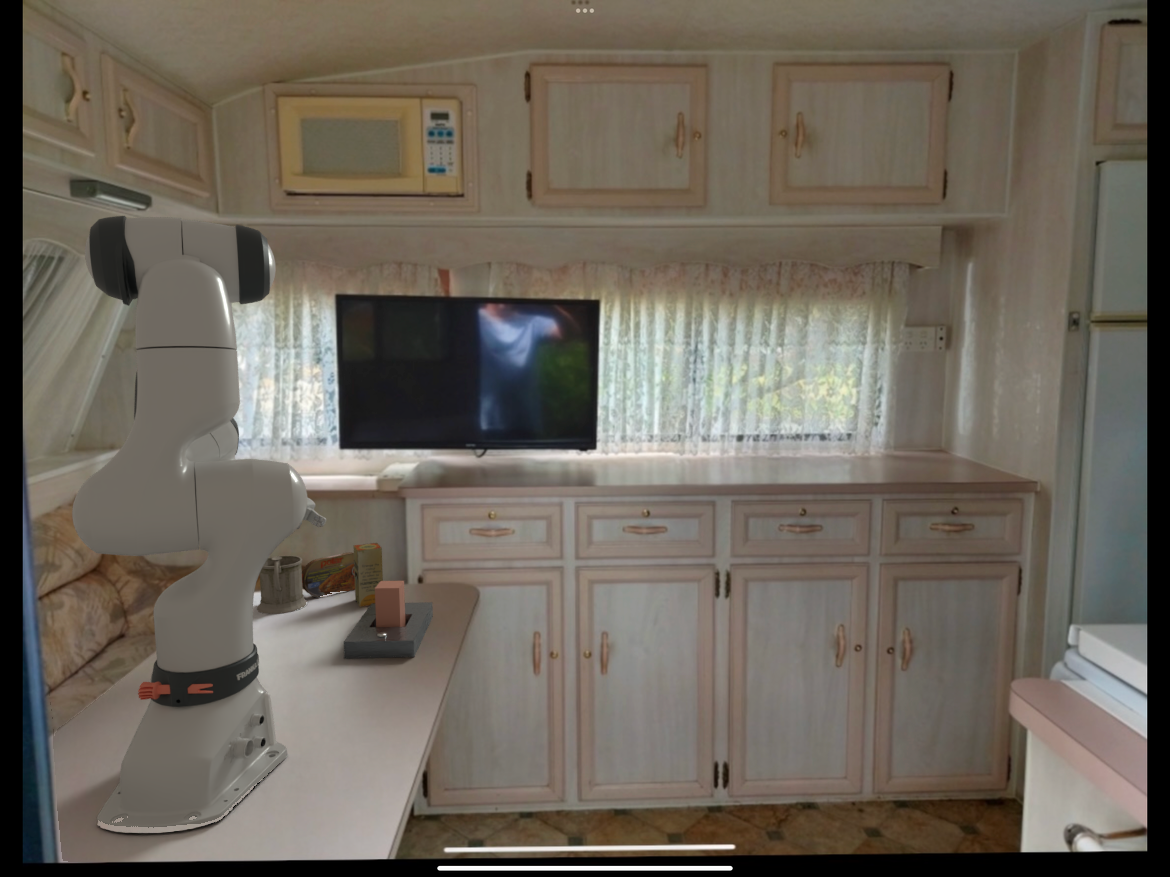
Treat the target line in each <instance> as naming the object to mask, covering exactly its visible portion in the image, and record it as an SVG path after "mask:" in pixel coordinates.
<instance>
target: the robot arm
mask: <svg viewBox="0 0 1170 877" xmlns="http://www.w3.org/2000/svg"><path fill="white" fill-rule="evenodd" d="M271 248H272V247H271V246H270V245H269V243H268V238H267V237H266V236H265V235H264V234H263V233H262V232H261V231H260V230H258V229H255V228H252V227H249V226H246V225H240V224H236V225H235V226H232V225H228V224H227V225H226V224H221V223H215V222H209V221H201V220H195V219H194V220H191V219H183V218H182V217H171V216H170V217H168V216H167V217H165V216H160V217H159V216H155V217H153V216H152V217H151V216H148V217H130V218H129V217H126V215H118V216H117V215H116V216H115V215H114V216H109V217H103V218H102V217H101V218H99V219H97V221H95V223H94V224H92V225H91V227H90V229H89V234H88V236H87V238H86V240H85V247H84V260H85V264H86V267H87V270H88V272H89V274H90V276H91V278H92V280H93V282H94V284H95V287H97V288H98V289H99V290H100V291H101V292H103V293H104V294H105V295H107V296H108V297H110V298H112V299H113V298H114V299H117V300H120V301H122V305H125V306H128V307H130V304H131V303H133V300H136V299H137V301H136V308H135V309H136V311H135V312H136V313H135V330H134V331H135V335H134V336H135V349H136V350H135V354H136V356H135V357H136V372H135V373H136V374H135V382H134V406H133V408H134V409H133V410H134V412H133V424H132V426H131V428H130V432H129V433H128V436H127V437H126V440H125V441H124V443H123V445H122V446H121V448H119V450H118V451H117V453H116V454H115V455H114V456H113V457H112V458H111V459H110V460H109V461H108V462H107V463H106V464H105V465H104V466H102V467H101V468H100V469H98V471H96V472H94V473H93V474H92V475H91V476H89V477H88V478H87V479H86V480H85V481H84V483H83V484H82V485H81V486H80V488H79V489H78V491H77V493H76V494H75V498H74V500H73V503H72V504H73V505H72V512H71V517H72V523H73V527H74V530H75V532H76V534H77V536H78V538H79V539H80V540H81V542H83V544H84V545H86V547H87V548H89V549H90V550H91V551H92V552H94V553H96V554H99V555H100V554H102V555H113V556H115V555H116V556H129V557H133V556H135V557H143V556H150V555H151V556H153V555H161V554H162V555H163V554H171V553H180V552H189V551H197V550H200V551H205V552H207V555H208V556H207V558H206V560H205V561H204V563H203V564H201V565H200V566H199V568H197V569H196V570H194V571H192V572H191V573H189V574H187V575H186V576H185V575H184V576H183V577H182V578H180V579H178V580H176V581H175V582H173V583H172V584H170V585H169V586H168V587H167V588H166V589H164V591H162V593H160V595H159V596H158V597H157V599H156V601H155V604H154V607H153V623H154V637H155V638H154V639H155V651H156V652H155V653H156V654H155V655H156V660H155V661H154V663H153V668H152V673H151V674H150V681H143V682H141V683H140V685H139V688H138V689H137V692H138V693H137V695H138V699H139V700H143V701H144V700H150V702H149V704H148V706H147V708H146V710H145V713H144V714H143V715H142V718H141V720H140V722H139V724H138V727H137V728H136V731H135V733H134V735H133V737H132V740H131V742H130V744H129V746H128V749H127V750H126V752H125V754H124V757H123V759H122V761H121V766H120V773H119V774H120V777H119V783H118V784H117V786H116V787H115V788H114V790H113V791H112V793H111V794H110V796H109V798H108V799H107V800H106V802H105V803H104V804H103V807H102V808H101V810H100V811H99V813H98V815H97V817H96V821H97V820H99V821H100V822H101V821H102V822H103V823H105V824H108V825H109V824H110V825H114V826H126V827H131V826H132V827H133V826H134V827H135V826H136V827H137V826H138V827H148V828H149V827H153V828H154V827H167V826H176V825H187V824H201V823H205V822H208V821H212V820H215V819H217V818H219V817H221V816H222V815H224V813H225V812H226V811H227V810H229V808H231V807H232V805H233V804H235V802H237V801H238V800H239V799H240V798H241V796H243V795H244V794H245V793H246V792H247V791H248V790H250V788H251V787H252V786H254V785H255V784H256V783H258V782H259V781H260V780H261V779H263V777H265V776H266V775H267V774H268V773H269V772H270V771H271V770H273V769H274V768H275V767H276V766H277V765H278V764H279V763H280V764H281V763H282V762H284V760H285V759H286V758H287V757H288V749H287V748H288V747H287V746H286V745H284V744H283V743H281V742H279V741H277V734H276V727H275V720H274V719H275V718H274V713H273V711H274V710H273V705H272V697H271V694H270V693H269V691H267V690H266V689H265V688H264V687H263V684H261V682H260V680H259V678H258V676H259V673H260V666H259V664H260V656H259V653H258V648H257V645H256V644H255V643H254V623H253V620H254V615H253V614H254V598H255V597H254V596H255V590H256V585H257V581H258V579H259V577H260V571H261V569H262V567H263V565H264V564H265V562H266V560H267V559H268V558H270V556H271V554H272V553H273V552H274V551H275V550H276V549H277V548H278V546H280V544H282V543H283V541H285V540H286V539H287V538H289V537H290V536H292V534H293V533H294V532H295V531H296V530H299V529H301V526H302V524H303V521H307V522H309V523H311V525H312V526H315V527H318V528H322V527H324V526H325V525H326V523H327V518H326V517H324V516H323V515H321V514H319V513H318V512H317V511H316V510H315V508H316V503H315V501H313V499H311V498H309V497H308V491H307V488H306V487H307V486H306V485H305V482H304V480H303V478H302V477H301V475H300V474H299V473H298V471H297V470H296V469H295V468H294V467H293V466H292V465H290V464H289V463H288V462H280V461H274V460H263V459H256V458H245V459H243V458H242V459H236V457H235V456H236V455H237V453H238V450H239V440H240V431H239V426H238V423H237V421H236V419H235V416H236V415H237V413H238V411H239V410H240V409H239V408H240V404H241V399H240V398H241V396H240V380H239V364H238V363H239V362H238V360H239V359H238V351H237V350H238V346H237V345H238V343H237V336H236V335H237V334H236V327H235V320H234V315H233V305H232V304H233V303H234V304H235V303H239V305H248V304H253V303H259V302H261V301H263V300H264V299H265V298H266V297H267V296H268V295H270V291H271V290H270V289H271V288H272V286H273V284H274V281H275V277H276V272H277V271H276V266H277V265H276V260H275V256H274V252H273V250H272V249H271ZM280 764H279V765H280ZM279 765H278V766H279ZM278 766H277V767H278ZM277 767H276V768H277ZM276 768H275V769H276ZM275 769H274V770H275ZM274 770H273V771H274ZM266 777H267V776H266ZM266 777H265V778H266ZM263 780H264V779H263ZM127 816H128V818H127ZM192 816H195V817H197V818H196V819H193V820H189V818H190V817H192ZM121 817H122V818H124V819H123V820H122V822H121V821H120V822H117V823H116V822H115V823H114V821H115V820H116V819H118V818H121ZM112 821H113V823H112Z"/></svg>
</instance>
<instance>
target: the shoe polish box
mask: <svg viewBox="0 0 1170 877" xmlns="http://www.w3.org/2000/svg"><path fill="white" fill-rule="evenodd" d="M353 553H354V574H355V590H354V593H355V601H357V602H356V604H357V605H358V606H359V608H361V607H362V606H363V607H368V606H370V605H371V604H372V603H375V587H376V586H377V585H378V584H379V582H380V581H384V579H383V578H384V574H383V549H382V546H381V545H380V544H379V543H378V542H370V543H363V544H354V545H353ZM363 607H362V608H363Z"/></svg>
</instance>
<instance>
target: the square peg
mask: <svg viewBox="0 0 1170 877" xmlns="http://www.w3.org/2000/svg"><path fill="white" fill-rule="evenodd" d="M405 598H406V597H405V580H383V581H380V582H379V584H378V585H377V586H376V587H375V607H376V627H406V625H405V603H406V602H405V600H406V599H405Z"/></svg>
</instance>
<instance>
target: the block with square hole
mask: <svg viewBox="0 0 1170 877" xmlns="http://www.w3.org/2000/svg"><path fill="white" fill-rule="evenodd" d="M433 615H434V614H433V602H432V601H431V602H430V601H429V602H427V601H426V602H405V625H406V627H376V607H375V603H372V604H371V605H369V607H368V608H367V609H366V611H365V612H364V613H363V615H362V616H361V617H360V619H359V620H358V621H357V623H356V624H355V625H354V627H353V628H352V629H351V631H350V632H349V634H348V635H347V637H346V638H344V641H343V657H344V658H343V659H381V658H382V659H383V658H384V659H385V658H389V659H390V658H415V657H416V655H417V654H416V653H417V652H418V650H419V647H420V645H421V643H422V641H423V639H424V637H425V634H426V633H427V630H428V628H429V626H430V623H431V622H432V619H433V617H434V616H433Z"/></svg>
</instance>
